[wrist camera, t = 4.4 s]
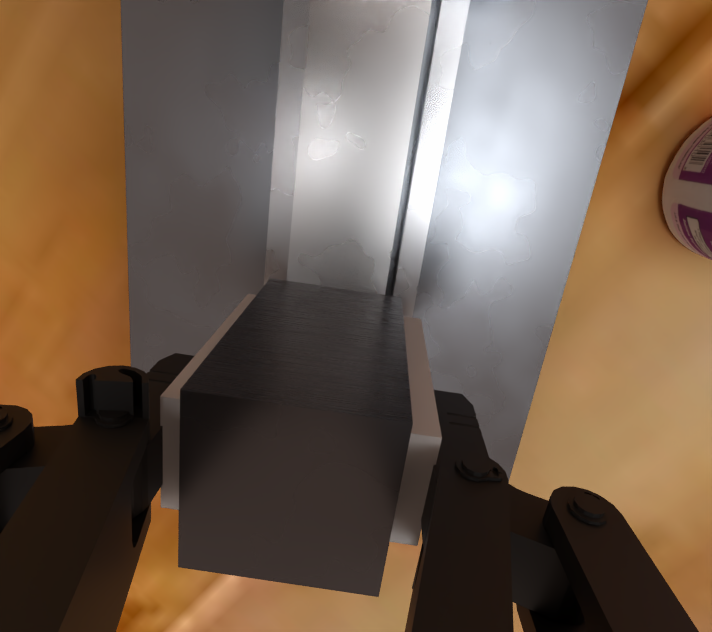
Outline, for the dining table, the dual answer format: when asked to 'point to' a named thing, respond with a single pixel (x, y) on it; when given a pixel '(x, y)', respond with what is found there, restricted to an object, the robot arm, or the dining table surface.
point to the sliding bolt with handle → (317, 337)
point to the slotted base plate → (420, 184)
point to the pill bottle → (691, 192)
